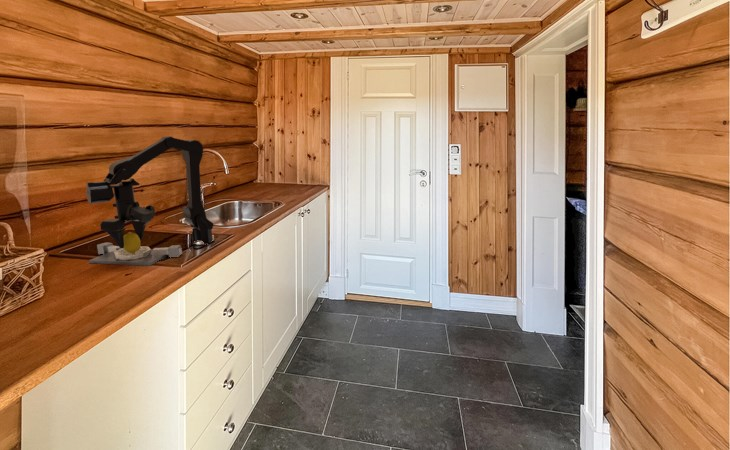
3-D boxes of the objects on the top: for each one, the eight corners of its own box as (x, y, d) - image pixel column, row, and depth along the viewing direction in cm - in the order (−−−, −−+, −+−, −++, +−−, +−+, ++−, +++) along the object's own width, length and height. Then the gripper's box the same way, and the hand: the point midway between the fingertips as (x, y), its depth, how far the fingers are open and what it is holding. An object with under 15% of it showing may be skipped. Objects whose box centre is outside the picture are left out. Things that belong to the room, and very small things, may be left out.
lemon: (122, 257, 137) (118, 234, 135) (126, 252, 142) (122, 230, 140) (140, 255, 139) (137, 233, 137) (143, 251, 144) (140, 229, 142)
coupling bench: (186, 253, 146) (185, 244, 145) (162, 266, 132) (161, 256, 131) (107, 250, 150) (106, 241, 149) (76, 262, 136) (75, 252, 135)
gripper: (127, 205, 126) (134, 253, 130) (164, 195, 144) (169, 237, 148) (95, 204, 127) (103, 251, 131) (135, 195, 145) (141, 236, 149)
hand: (131, 244), depth 140 cm, fingers open, 9 cm apart
